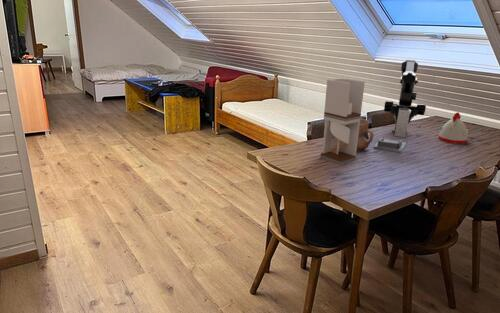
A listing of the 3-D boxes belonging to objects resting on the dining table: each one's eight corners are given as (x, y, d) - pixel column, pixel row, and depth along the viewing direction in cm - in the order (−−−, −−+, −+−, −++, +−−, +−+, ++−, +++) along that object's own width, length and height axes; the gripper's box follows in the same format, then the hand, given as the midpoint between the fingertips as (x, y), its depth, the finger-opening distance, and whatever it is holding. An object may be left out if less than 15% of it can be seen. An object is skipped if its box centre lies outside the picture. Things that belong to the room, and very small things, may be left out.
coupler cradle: (380, 140, 209) (381, 133, 208) (406, 144, 203) (407, 137, 202) (373, 148, 196) (374, 141, 194) (401, 152, 190) (402, 145, 189)
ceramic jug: (329, 147, 195) (332, 119, 190) (345, 141, 205) (349, 114, 200) (362, 157, 183) (366, 127, 178) (377, 150, 193) (382, 122, 188)
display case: (320, 157, 180) (327, 79, 168) (335, 153, 186) (342, 78, 175) (340, 164, 172) (349, 83, 160) (355, 159, 178) (364, 81, 167)
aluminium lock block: (394, 133, 197) (399, 105, 192) (405, 134, 196) (410, 107, 191) (394, 135, 193) (399, 107, 188) (405, 137, 191) (410, 109, 186)
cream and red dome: (433, 139, 215) (438, 111, 210) (444, 134, 223) (449, 108, 218) (460, 145, 205) (466, 116, 200) (470, 140, 214) (476, 113, 209)
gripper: (387, 84, 193) (383, 111, 187) (429, 87, 187) (425, 115, 181) (386, 97, 203) (381, 123, 196) (425, 101, 196) (422, 128, 190)
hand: (402, 122), depth 191 cm, fingers closed on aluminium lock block, 5 cm apart
